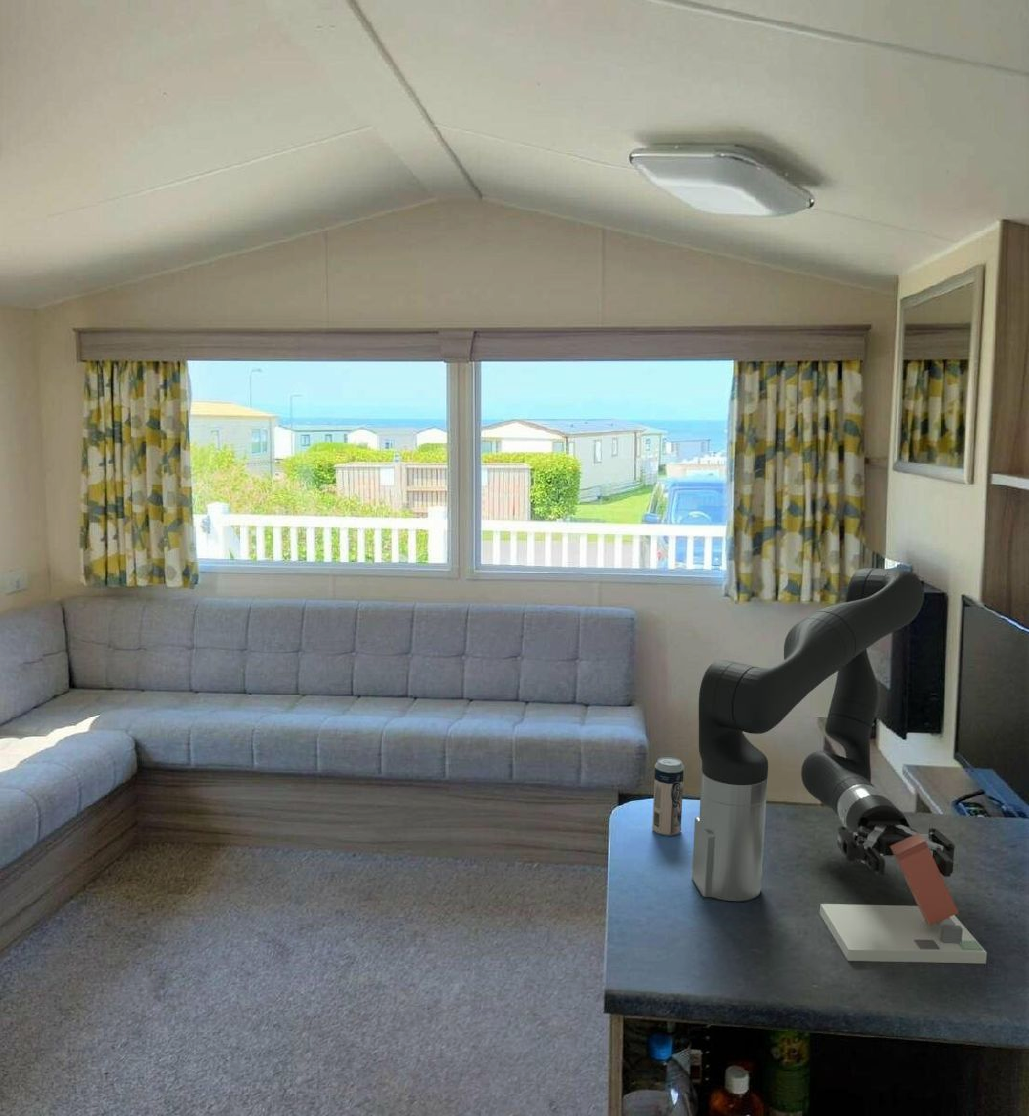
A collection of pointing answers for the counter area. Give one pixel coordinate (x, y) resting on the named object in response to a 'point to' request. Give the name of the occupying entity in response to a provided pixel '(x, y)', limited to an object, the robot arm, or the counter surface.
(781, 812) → the counter surface
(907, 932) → the breaker base
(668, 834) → the beer can
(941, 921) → the lever
